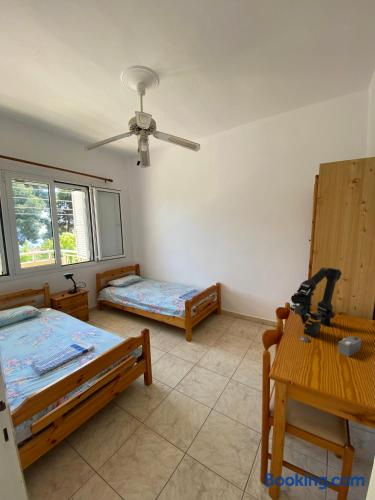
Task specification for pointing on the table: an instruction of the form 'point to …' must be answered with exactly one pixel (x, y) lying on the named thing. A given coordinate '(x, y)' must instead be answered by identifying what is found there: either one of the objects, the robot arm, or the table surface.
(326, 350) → the table surface
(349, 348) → the camera body
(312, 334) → the end cap
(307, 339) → the lens cap
